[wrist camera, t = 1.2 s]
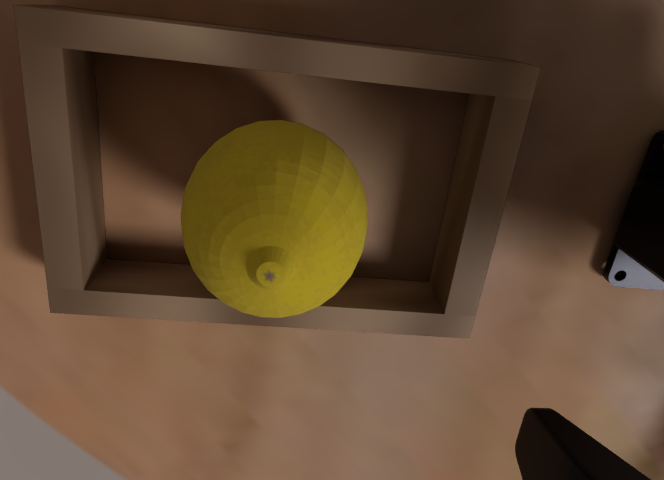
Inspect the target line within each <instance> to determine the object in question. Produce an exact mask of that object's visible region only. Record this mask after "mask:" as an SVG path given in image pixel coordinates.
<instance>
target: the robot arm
mask: <svg viewBox="0 0 664 480" xmlns="http://www.w3.org/2000/svg"><path fill="white" fill-rule="evenodd" d="M663 144H664V130H662V131H660V132H658V133H657V134H656V135H654V136H653V138H652V140H651V142H650V145H649V148H648V150H647V153H646V156H645V159H644V161H643V164H642V167H641V170H640V172H639V175H638V178H637V181H636V183H635V185H634V187H633V189H632V192H631V195H630V198H629V200H628V203H627V206H626V209H625V211H624V214H623V217H622V220H621V222H620V225H619V228H618V231H617V233H616V236H615V239H614V244H613V247H612V250H611V252H610V255H609V258H608V261H607V263H606V266H605V269H604V273H603V275H604V278H605V279H606V280H607V281H608V282H609V283H610V284H611V285H613V286H617V287H631V288H644V289H658V290H664V149H663ZM618 271H621V272H620V274H619V275H617V276H615V274H616V273H617V272H618ZM614 276H615V277H614ZM515 453H516V458H517V462H518V465H519V469H520V472H521V475H522V479H523V480H651V479H649V478H648V477H646V476H645V475H644V474H642V473H641V472H639V471H638V470H637V469H635V468H634V467H633V466H631V465H630V464H628V463H627V462H626V461H624V460H623V459H621V458H620V457H619V456H617V455H616V454H614V453H613V452H612V451H610V450H609V449H608V448H606V447H605V446H603V445H602V444H601V443H599V442H598V441H596V440H595V439H594V438H592V437H591V436H589V435H588V434H587V433H585V432H584V431H582V430H581V429H580V428H578V427H577V426H576V425H574V424H573V423H571V422H570V421H569V420H567V419H566V418H564V417H563V416H562V415H560V414H559V413H557V412H556V411H554V410H553V409H550V408H530V409H528V410H527V411H526V412H525V414H524V417H523V421H522V424H521V427H520V430H519V434H518V437H517V440H516V445H515Z"/></svg>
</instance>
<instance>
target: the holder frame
mask: <svg viewBox="0 0 664 480" xmlns="http://www.w3.org/2000/svg"><path fill="white" fill-rule="evenodd" d="M14 13H15V22H16V30H17V38H18V47H19V55H20V63H21V72H22V80H23V89H24V97H25V105H26V114H27V122H28V130H29V139H30V147H31V155H32V164H33V172H34V181H35V189H36V197H37V206H38V214H39V222H40V231H41V239H42V247H43V256H44V264H45V272H46V281H47V289H48V298H49V306H50V313H64V314H80V315H97V316H113V317H129V318H145V319H161V320H178V321H194V322H210V323H226V324H243V325H259V326H275V327H291V328H308V329H324V330H340V331H356V332H372V333H389V334H405V335H421V336H437V337H454V338H470V335H471V331H472V328H473V324H474V320H475V316H476V312H477V308H478V305H479V301H480V297H481V293H482V289H483V286H484V282H485V278H486V274H487V270H488V267H489V263H490V259H491V255H492V251H493V248H494V244H495V240H496V236H497V232H498V228H499V225H500V221H501V217H502V213H503V209H504V206H505V202H506V198H507V194H508V190H509V187H510V183H511V179H512V175H513V171H514V167H515V164H516V160H517V156H518V152H519V148H520V145H521V141H522V137H523V133H524V129H525V126H526V122H527V118H528V114H529V110H530V107H531V103H532V99H533V95H534V91H535V87H536V84H537V80H538V76H539V72H540V68H541V67H537V66H533V65H529V64H524V63H520V62H516V61H512V60H506V59H498V58H489V57H481V56H473V55H464V54H456V53H447V52H439V51H431V50H422V49H414V48H406V47H397V46H389V45H380V44H372V43H364V42H355V41H347V40H339V39H330V38H322V37H313V36H305V35H297V34H288V33H280V32H272V31H263V30H255V29H247V28H238V27H230V26H221V25H213V24H205V23H196V22H188V21H180V20H171V19H163V18H154V17H146V16H138V15H129V14H121V13H113V12H104V11H96V10H88V9H79V8H71V7H62V6H54V5H14ZM94 52H102V53H111V54H120V55H129V56H138V57H147V58H156V59H165V60H174V61H183V62H192V63H201V64H209V65H218V66H227V67H236V68H245V69H254V70H263V71H272V72H281V73H290V74H299V75H308V76H317V77H326V78H335V79H344V80H353V81H362V82H371V83H380V84H389V85H398V86H407V87H415V88H424V89H433V90H442V91H451V92H460V93H469V98H468V103H467V108H466V112H465V117H464V122H463V126H462V131H461V136H460V140H459V145H458V150H457V154H456V159H455V164H454V168H453V173H452V178H451V182H450V187H449V192H448V196H447V201H446V206H445V210H444V215H443V220H442V224H441V229H440V234H439V238H438V243H437V248H436V252H435V257H434V262H433V266H432V271H431V276H430V280H429V282H419V281H406V280H392V279H378V278H364V277H350V278H349V279H348V280H347V282H346V283H345V284H344V285H343V286H342V287H341V289H340V290H339V291H338V292H337V293H336V294H335V295H334V296H333V297H331V298H330V299H328V300H327V301H326V302H324V303H323V304H322V305H320V306H319V307H316V308H314V309H311V310H309V311H307V312H304V313H302V314H299V315H294V316H288V317H282V318H270V317H258V316H254V315H250V314H246V313H242V312H240V311H238V310H236V309H234V308H232V307H230V306H228V305H227V304H225V303H223V302H221V301H220V300H219V299H218V298H217V297H215V296H214V295H213V294H212V293H211V292H210V291H208V290H207V289H206V287H205V286H204V285H203V283H202V282H201V280H200V279H199V278H198V276H197V275H196V274H195V272H194V271H193V269H192V266H191V265H185V264H171V263H157V262H144V261H130V260H116V259H107V249H106V234H105V218H104V203H103V188H102V173H101V157H100V142H99V127H98V111H97V96H96V81H95V66H94Z"/></svg>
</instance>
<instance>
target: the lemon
mask: <svg viewBox="0 0 664 480" xmlns="http://www.w3.org/2000/svg"><path fill="white" fill-rule="evenodd" d="M181 225H182V234H183V244H184V248H185V251H186V254H187V256H188V259H189V261H190V264H191V266H192V269H193V271H194V272H195V274H196V275H197V276H198V278H199V279H200V280H201V282H202V283H203V285H204V286H205V287H206V289H207V290H208V291H210V292H211V293H212V294H213V295H214V296H215V297H217V298H218V299H219V300H220V301H221V302H223V303H225V304H227V305H228V306H230V307H232V308H234V309H236V310H238V311H240V312H242V313H246V314H250V315H254V316H258V317H270V318H282V317H288V316H294V315H299V314H302V313H304V312H307V311H309V310H311V309H314V308H316V307H319V306H320V305H322V304H323V303H324V302H326V301H327V300H328V299H330V298H331V297H333V296H334V295H335V294H336V293H337V292H338V291H339V290H340V289H341V287H342V286H343V285H344V284H345V283H346V282H347V280H348V279H349V278H350V277H351V275H352V273H353V271H354V269H355V267H356V265H357V263H358V261H359V259H360V257H361V254H362V252H363V248H364V243H365V237H366V232H367V226H368V214H367V201H366V194H365V191H364V188H363V185H362V183H361V180H360V177H359V175H358V172H357V170H356V168H355V167H354V165H353V164H352V162H351V161H350V160H349V158H348V157H347V155H346V154H345V153H344V151H343V150H342V149H341V148H340V147H339V146H338V145H336V144H335V143H334V142H333V141H332V140H331V139H329V138H328V137H327V136H326V135H325V134H323V133H321V132H319V131H317V130H314V129H312V128H310V127H308V126H306V125H304V124H300V123H295V122H290V121H285V120H268V121H257V122H254V123H251V124H248V125H245V126H242V127H239V128H236V129H234V130H233V131H231V132H230V133H228V134H227V135H225V136H224V137H222V138H221V139H219V140H217V141H216V142H215V143H214V144H213V145H212V146H211V147H210V148H209V150H208V151H207V152H206V153H205V154H204V155H203V156H202V157H201V158H200V160H199V161H198V162H197V164H196V166H195V168H194V170H193V172H192V175H191V177H190V179H189V181H188V183H187V185H186V188H185V193H184V199H183V205H182V211H181Z"/></svg>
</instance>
